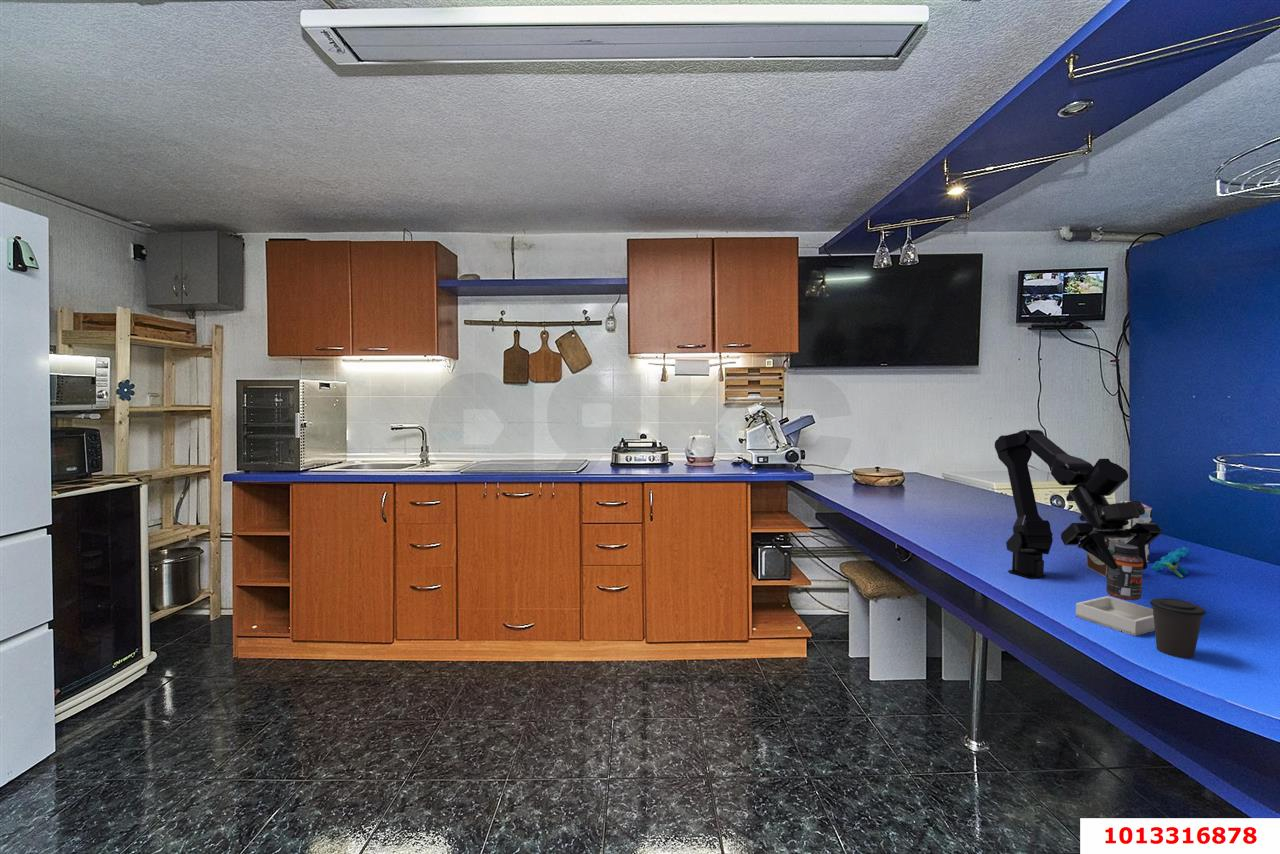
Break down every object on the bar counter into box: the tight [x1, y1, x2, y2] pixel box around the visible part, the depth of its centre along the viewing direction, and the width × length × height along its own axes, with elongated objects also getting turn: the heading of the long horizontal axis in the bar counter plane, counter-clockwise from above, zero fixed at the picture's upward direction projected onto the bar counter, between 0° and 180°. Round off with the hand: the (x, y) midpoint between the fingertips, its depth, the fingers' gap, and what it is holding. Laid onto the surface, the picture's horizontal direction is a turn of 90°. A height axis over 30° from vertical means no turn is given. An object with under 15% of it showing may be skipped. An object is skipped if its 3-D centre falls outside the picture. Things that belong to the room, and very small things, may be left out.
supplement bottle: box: [1106, 544, 1144, 601], centre depth 127 cm, size 6×6×11 cm
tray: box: [1075, 595, 1155, 637], centre depth 127 cm, size 11×11×3 cm
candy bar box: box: [1120, 500, 1153, 564], centre depth 175 cm, size 11×5×16 cm, turn 155°
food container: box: [1086, 538, 1125, 578], centre depth 161 cm, size 12×6×10 cm, turn 168°
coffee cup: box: [1149, 597, 1207, 659], centre depth 112 cm, size 8×8×10 cm
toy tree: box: [1151, 546, 1190, 579], centre depth 160 cm, size 11×6×10 cm
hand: (1130, 568), depth 125 cm, fingers closed on supplement bottle, 6 cm apart
